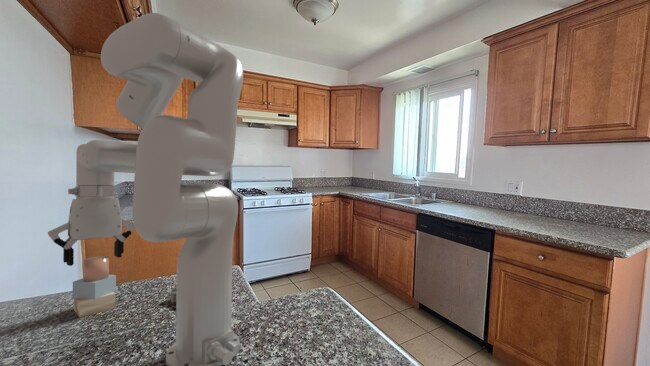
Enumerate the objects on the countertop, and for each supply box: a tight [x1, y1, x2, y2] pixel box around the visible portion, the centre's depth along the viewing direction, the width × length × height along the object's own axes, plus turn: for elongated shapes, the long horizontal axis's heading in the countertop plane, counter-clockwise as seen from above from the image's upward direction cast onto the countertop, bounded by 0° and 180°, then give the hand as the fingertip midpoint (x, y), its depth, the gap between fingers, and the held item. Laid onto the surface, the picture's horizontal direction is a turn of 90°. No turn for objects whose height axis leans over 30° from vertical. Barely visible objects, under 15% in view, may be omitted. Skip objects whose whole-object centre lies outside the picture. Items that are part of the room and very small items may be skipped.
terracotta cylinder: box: [82, 255, 110, 282], centre depth 71 cm, size 5×5×5 cm
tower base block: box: [73, 291, 117, 319], centre depth 71 cm, size 7×7×4 cm
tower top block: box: [72, 274, 117, 299], centre depth 71 cm, size 6×6×4 cm
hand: (95, 260), depth 71 cm, fingers open, 9 cm apart
